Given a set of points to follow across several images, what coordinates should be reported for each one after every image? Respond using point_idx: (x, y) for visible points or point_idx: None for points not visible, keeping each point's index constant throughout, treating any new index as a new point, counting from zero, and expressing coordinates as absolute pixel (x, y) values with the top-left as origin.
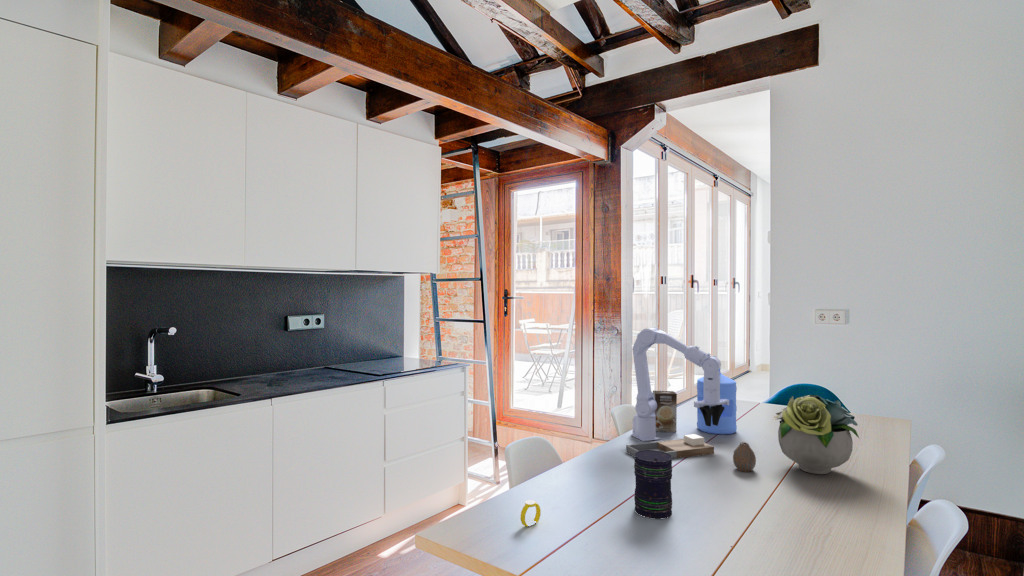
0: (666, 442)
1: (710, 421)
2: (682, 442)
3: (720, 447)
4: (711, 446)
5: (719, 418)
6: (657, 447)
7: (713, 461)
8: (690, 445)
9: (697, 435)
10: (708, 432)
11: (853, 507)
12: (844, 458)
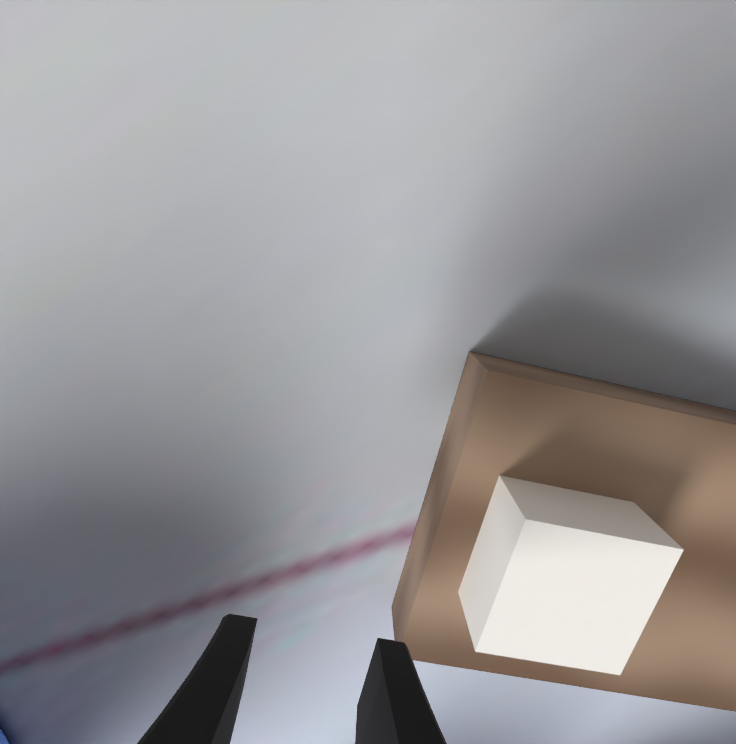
0: (721, 670)
1: (411, 719)
2: None
3: (246, 441)
4: (502, 389)
5: (160, 732)
6: None
7: (691, 198)
8: None
9: (505, 607)
10: (4, 735)
11: None
12: None
